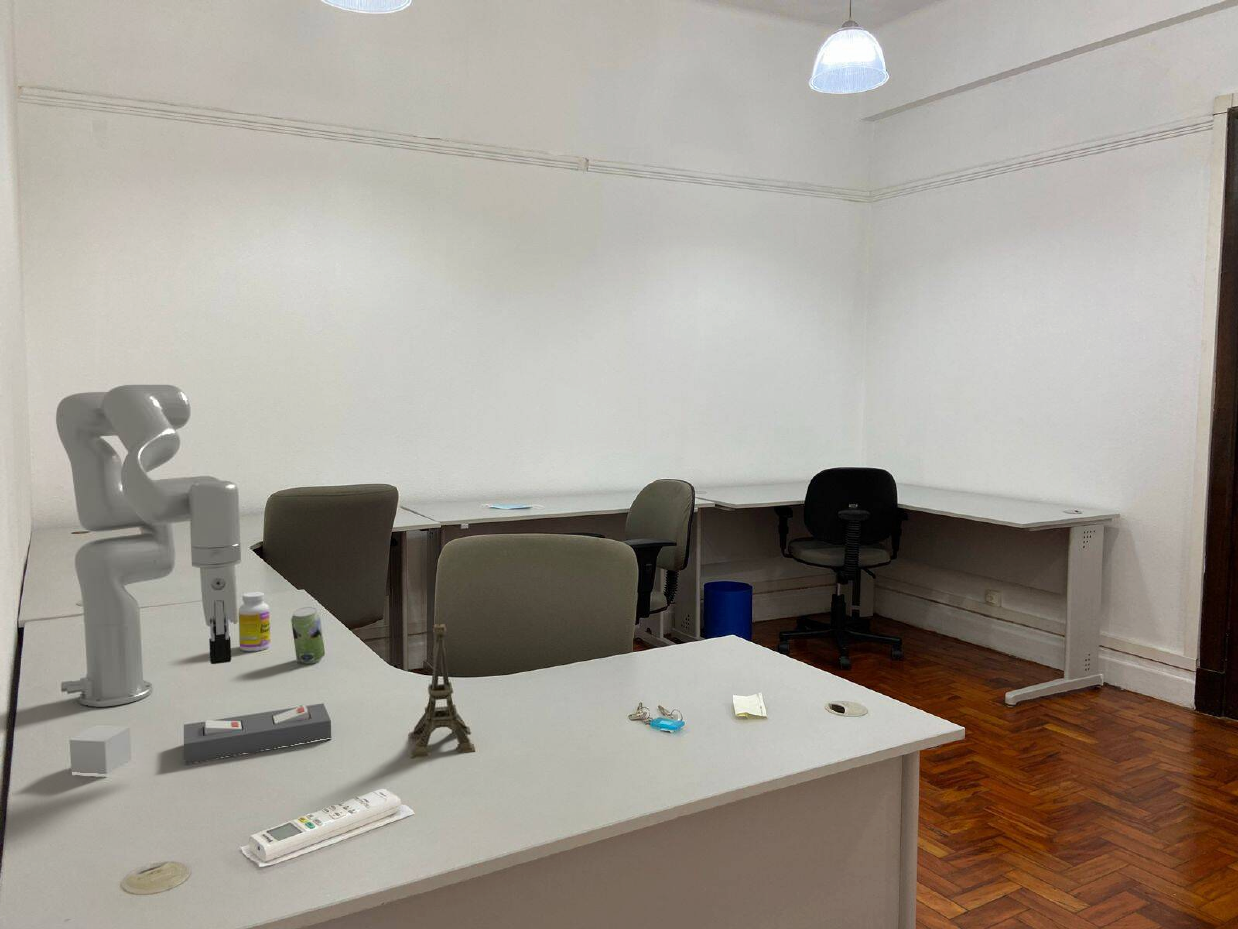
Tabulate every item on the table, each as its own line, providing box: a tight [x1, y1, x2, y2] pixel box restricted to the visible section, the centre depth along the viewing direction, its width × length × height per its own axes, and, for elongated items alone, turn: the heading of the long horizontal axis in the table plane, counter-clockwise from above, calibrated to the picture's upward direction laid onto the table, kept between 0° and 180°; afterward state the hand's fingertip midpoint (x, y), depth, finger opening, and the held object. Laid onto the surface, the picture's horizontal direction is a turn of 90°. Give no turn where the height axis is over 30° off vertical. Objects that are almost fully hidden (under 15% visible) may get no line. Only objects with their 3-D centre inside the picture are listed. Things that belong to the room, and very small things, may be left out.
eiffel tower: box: [408, 609, 476, 759], centre depth 152 cm, size 11×11×25 cm
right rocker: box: [273, 704, 310, 724], centre depth 155 cm, size 6×4×1 cm, turn 116°
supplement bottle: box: [237, 591, 271, 652], centre depth 205 cm, size 7×7×13 cm
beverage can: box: [290, 606, 326, 665], centre depth 196 cm, size 6×7×12 cm
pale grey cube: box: [69, 724, 132, 774], centre depth 142 cm, size 6×6×6 cm
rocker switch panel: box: [183, 703, 332, 765], centre depth 156 cm, size 23×16×4 cm
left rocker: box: [204, 719, 242, 735], centre depth 150 cm, size 6×4×1 cm, turn 117°
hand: (220, 661), depth 149 cm, fingers closed
